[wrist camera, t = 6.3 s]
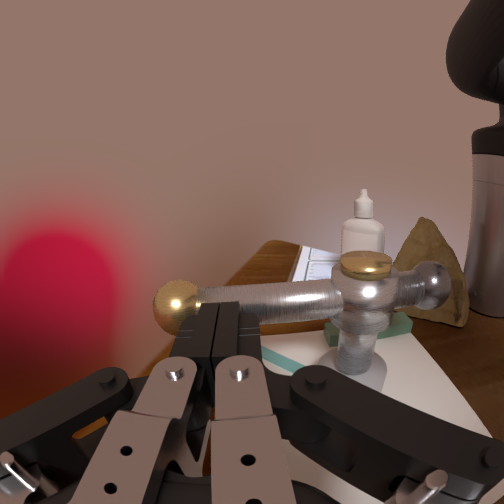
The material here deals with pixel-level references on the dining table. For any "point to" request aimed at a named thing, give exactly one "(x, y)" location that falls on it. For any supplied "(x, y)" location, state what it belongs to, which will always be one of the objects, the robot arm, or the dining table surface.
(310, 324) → the dining table surface
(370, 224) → the eye dropper bottle
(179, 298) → the crank handle
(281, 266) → the dining table surface
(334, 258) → the dining table surface
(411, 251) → the rock
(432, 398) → the stand
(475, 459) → the robot arm
